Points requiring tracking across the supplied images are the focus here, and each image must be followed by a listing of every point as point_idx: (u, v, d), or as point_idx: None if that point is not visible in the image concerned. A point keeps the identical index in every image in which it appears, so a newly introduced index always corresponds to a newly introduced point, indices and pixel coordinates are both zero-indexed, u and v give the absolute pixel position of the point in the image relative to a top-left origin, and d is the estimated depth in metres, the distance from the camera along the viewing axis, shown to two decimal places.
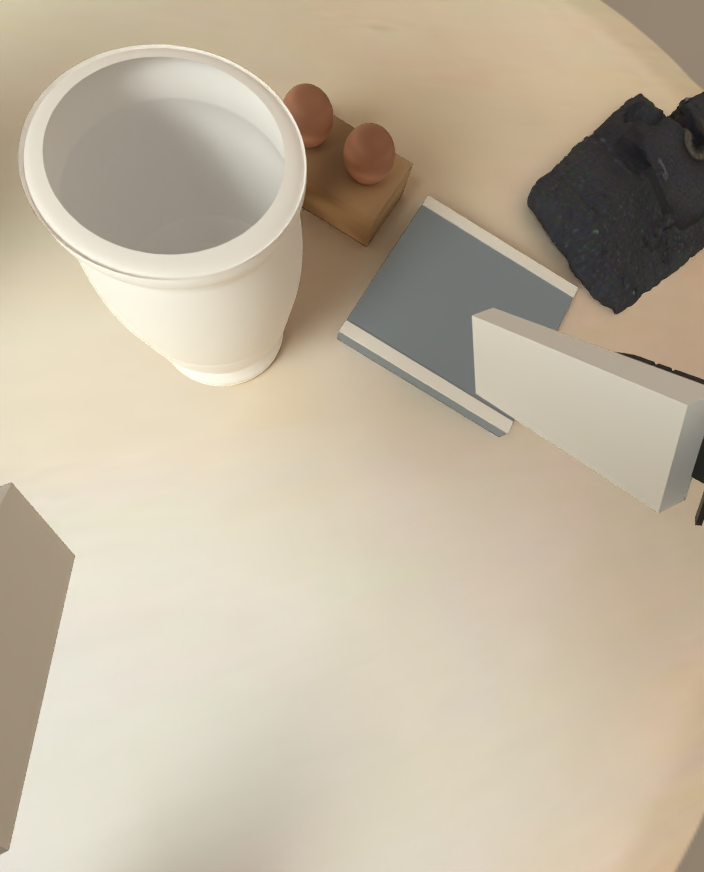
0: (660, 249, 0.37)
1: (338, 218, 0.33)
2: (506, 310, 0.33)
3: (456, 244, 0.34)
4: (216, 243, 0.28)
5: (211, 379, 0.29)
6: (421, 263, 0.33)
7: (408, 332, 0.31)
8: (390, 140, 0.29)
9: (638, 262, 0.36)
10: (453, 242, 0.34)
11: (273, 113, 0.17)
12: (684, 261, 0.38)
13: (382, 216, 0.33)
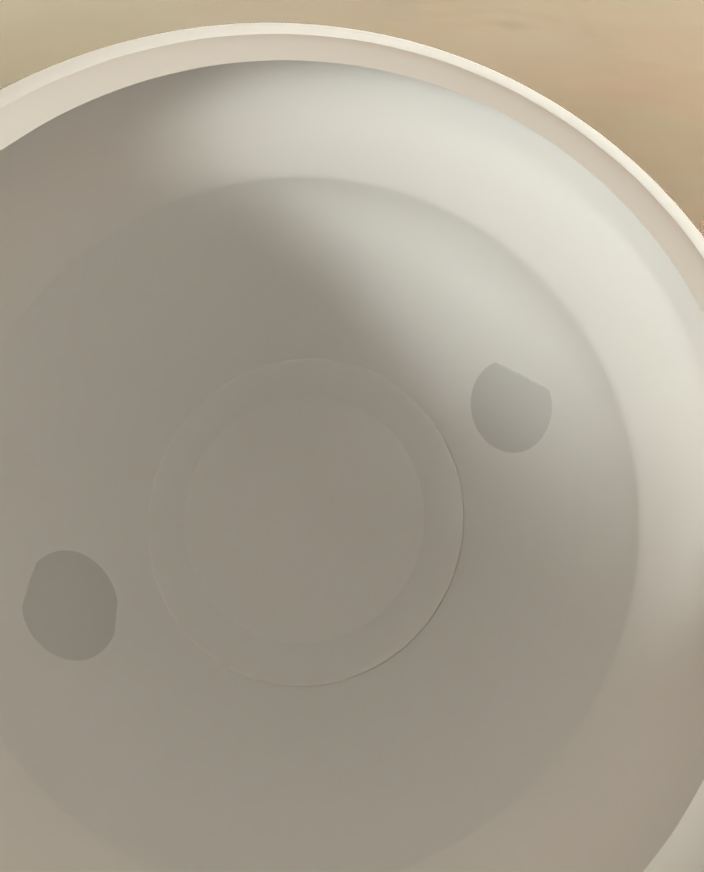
0: None
1: None
2: None
3: None
4: (308, 395, 0.16)
5: None
6: None
7: None
8: None
9: None
10: None
11: (662, 240, 0.05)
12: None
13: None
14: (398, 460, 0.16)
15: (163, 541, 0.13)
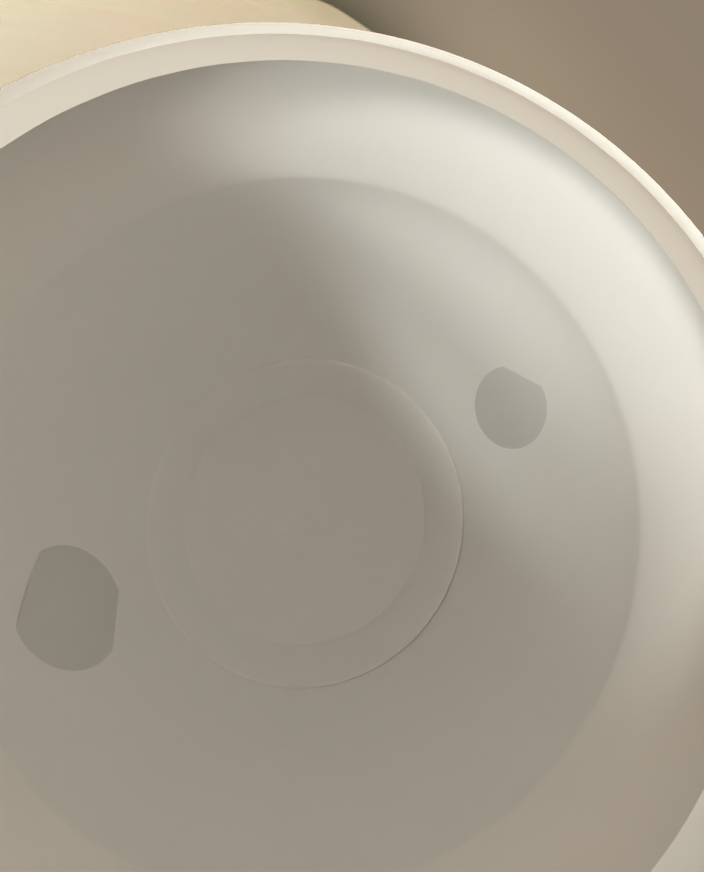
0: None
1: None
2: None
3: None
4: (308, 396, 0.16)
5: None
6: None
7: None
8: None
9: None
10: None
11: (664, 240, 0.05)
12: None
13: None
14: (398, 461, 0.16)
15: (162, 542, 0.13)
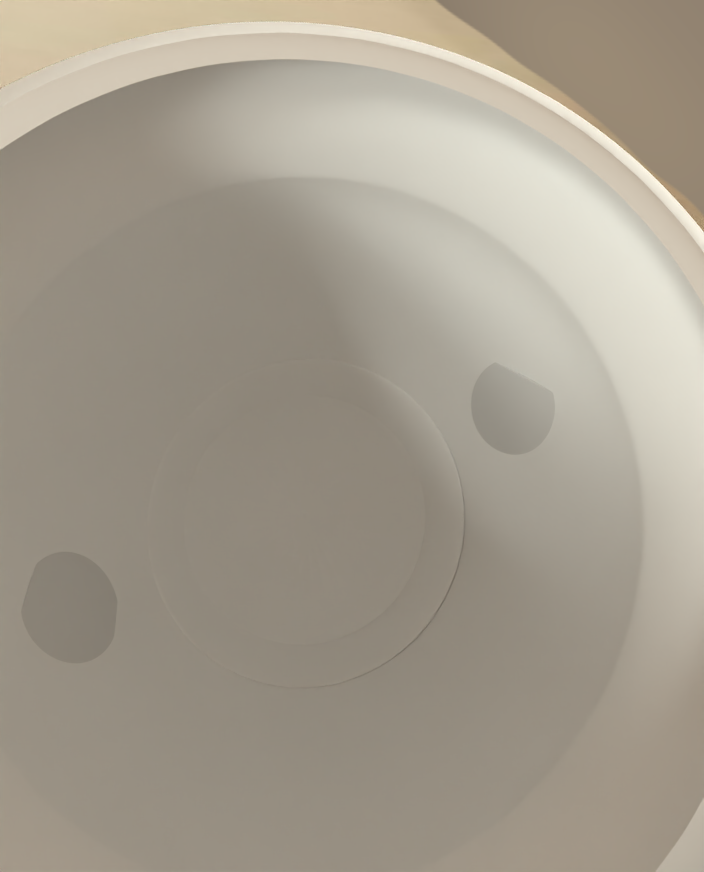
0: None
1: None
2: None
3: None
4: (309, 395, 0.16)
5: None
6: None
7: None
8: None
9: None
10: None
11: (667, 240, 0.05)
12: None
13: None
14: (399, 461, 0.16)
15: (163, 542, 0.13)
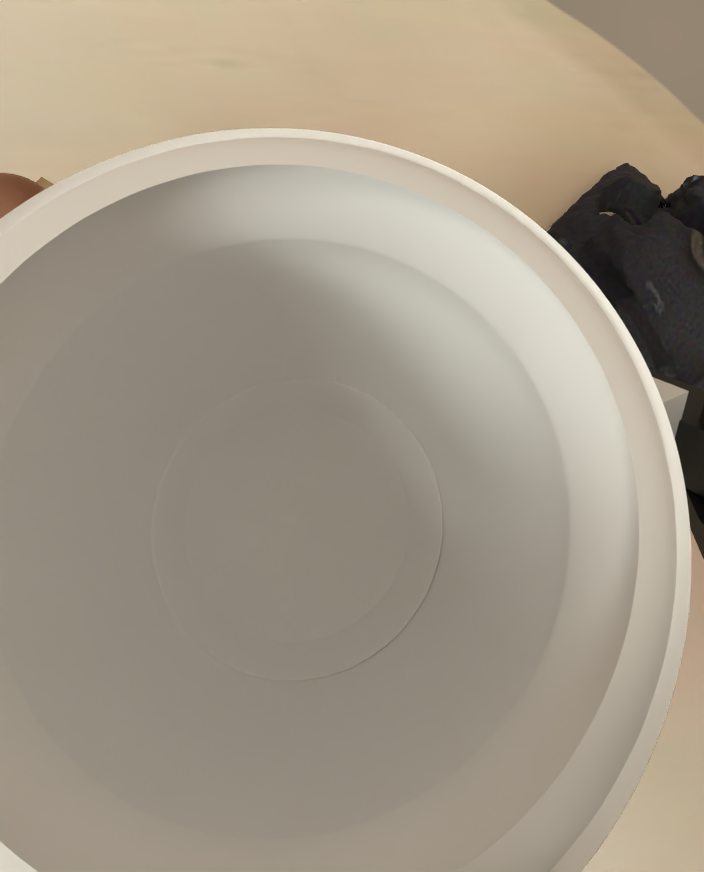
0: None
1: None
2: None
3: None
4: (299, 410, 0.17)
5: None
6: None
7: None
8: None
9: None
10: None
11: (571, 306, 0.06)
12: None
13: None
14: (384, 469, 0.17)
15: (166, 550, 0.14)
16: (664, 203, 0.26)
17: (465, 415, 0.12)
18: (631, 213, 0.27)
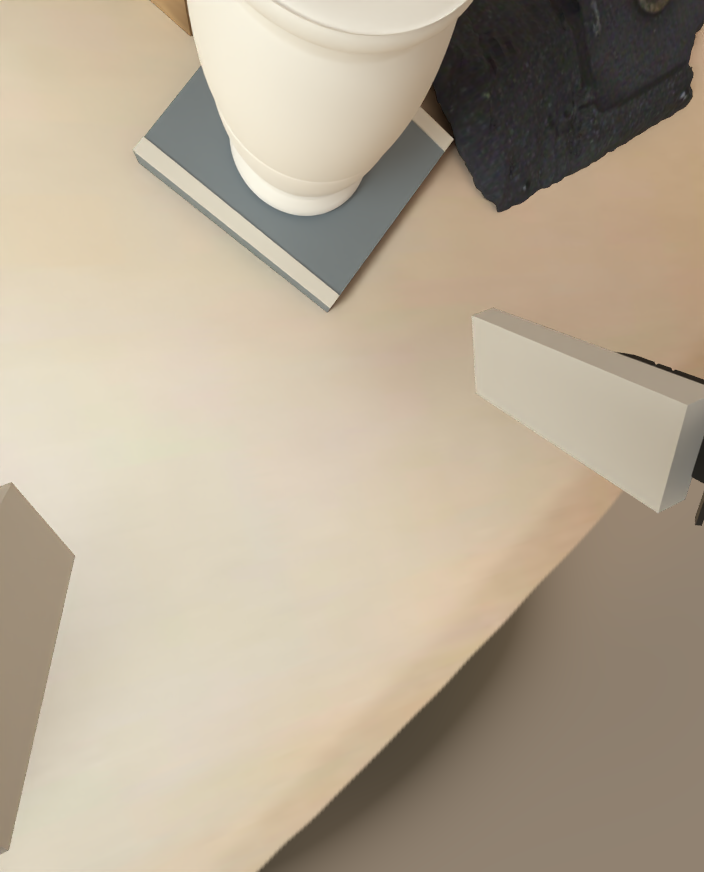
0: (569, 134, 0.30)
1: None
2: None
3: None
4: None
5: (289, 204, 0.26)
6: None
7: (225, 166, 0.26)
8: None
9: (536, 148, 0.30)
10: None
11: None
12: (598, 156, 0.32)
13: None
14: None
15: None
16: None
17: None
18: None
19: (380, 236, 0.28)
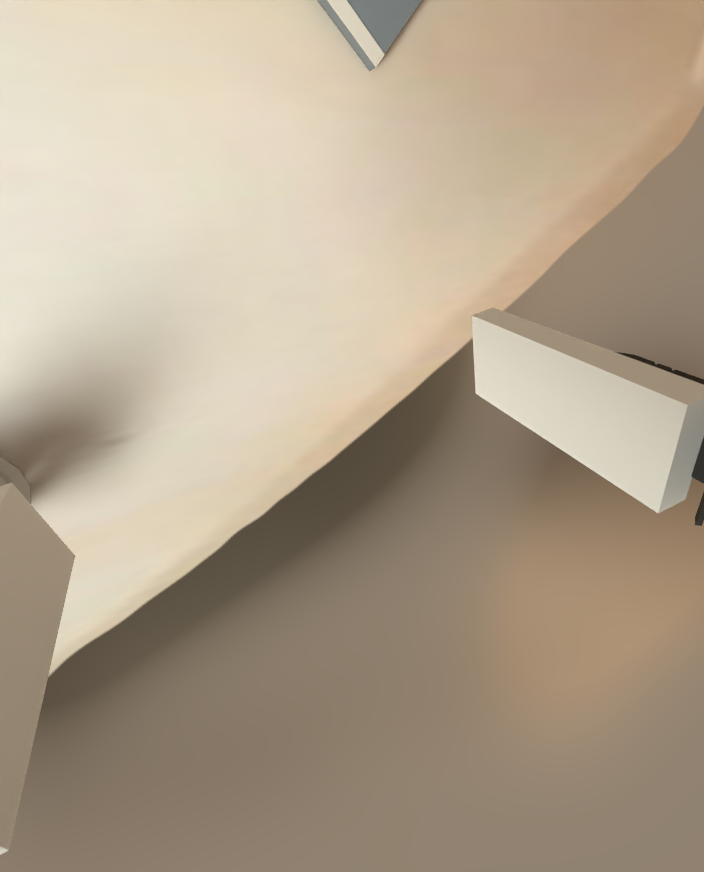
0: None
1: None
2: None
3: None
4: None
5: None
6: None
7: None
8: None
9: None
10: None
11: None
12: None
13: None
14: None
15: None
16: None
17: None
18: None
19: None
